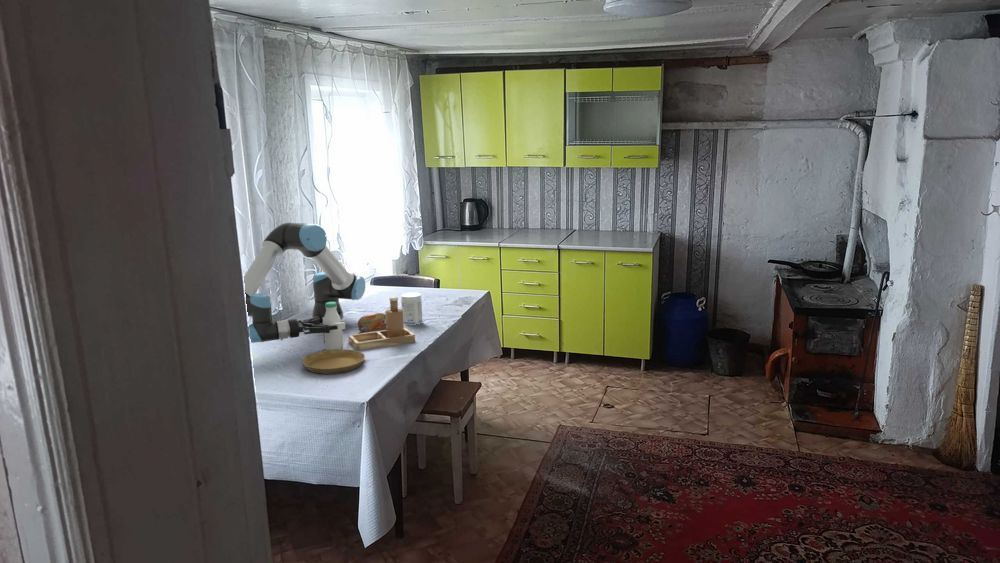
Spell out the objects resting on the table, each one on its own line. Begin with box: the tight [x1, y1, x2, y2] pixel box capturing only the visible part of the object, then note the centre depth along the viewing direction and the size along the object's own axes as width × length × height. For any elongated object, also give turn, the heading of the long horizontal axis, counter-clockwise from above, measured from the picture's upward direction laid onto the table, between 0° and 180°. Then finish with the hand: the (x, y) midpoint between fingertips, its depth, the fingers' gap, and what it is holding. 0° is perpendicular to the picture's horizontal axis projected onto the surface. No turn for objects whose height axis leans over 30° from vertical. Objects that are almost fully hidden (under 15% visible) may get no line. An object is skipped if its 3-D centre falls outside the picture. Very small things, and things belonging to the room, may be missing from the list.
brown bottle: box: [384, 296, 405, 338], centre depth 291 cm, size 8×8×19 cm
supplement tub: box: [400, 292, 423, 326], centre depth 319 cm, size 10×10×15 cm
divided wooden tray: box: [348, 326, 416, 351], centre depth 290 cm, size 13×26×4 cm, turn 117°
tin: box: [357, 312, 386, 333], centre depth 308 cm, size 15×3×8 cm, turn 129°
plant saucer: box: [301, 348, 366, 375], centre depth 264 cm, size 24×24×3 cm
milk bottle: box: [322, 302, 344, 351], centre depth 283 cm, size 8×8×20 cm
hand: (341, 322), depth 285 cm, fingers open, 11 cm apart
